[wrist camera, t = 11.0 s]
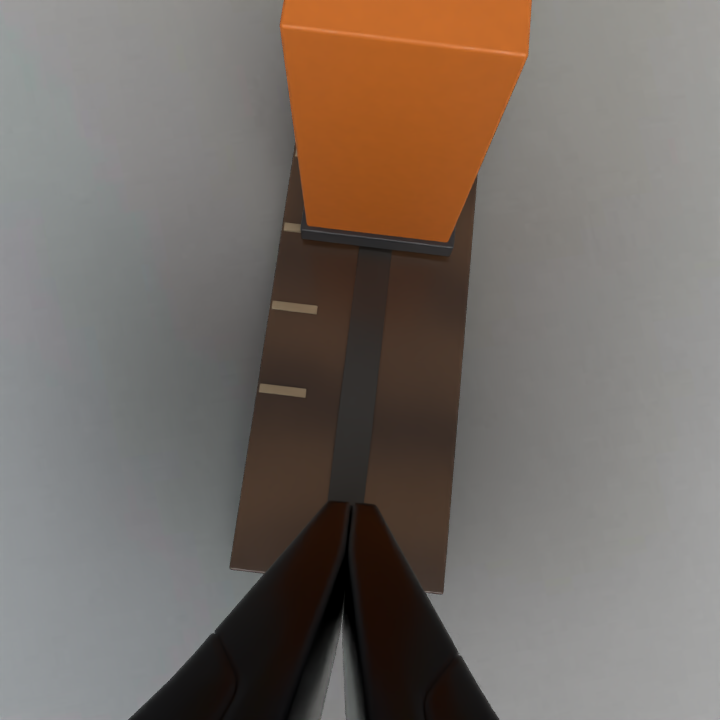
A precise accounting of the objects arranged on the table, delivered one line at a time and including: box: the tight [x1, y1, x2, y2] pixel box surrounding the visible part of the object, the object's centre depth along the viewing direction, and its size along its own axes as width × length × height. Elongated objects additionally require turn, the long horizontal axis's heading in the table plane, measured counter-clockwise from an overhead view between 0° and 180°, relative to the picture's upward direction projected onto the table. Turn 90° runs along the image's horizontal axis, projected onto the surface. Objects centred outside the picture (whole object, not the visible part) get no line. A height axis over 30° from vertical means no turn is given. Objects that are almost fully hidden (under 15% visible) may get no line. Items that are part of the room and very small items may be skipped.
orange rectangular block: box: [280, 0, 532, 256], centre depth 17 cm, size 4×5×10 cm
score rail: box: [230, 142, 477, 594], centre depth 21 cm, size 20×7×4 cm, turn 173°
